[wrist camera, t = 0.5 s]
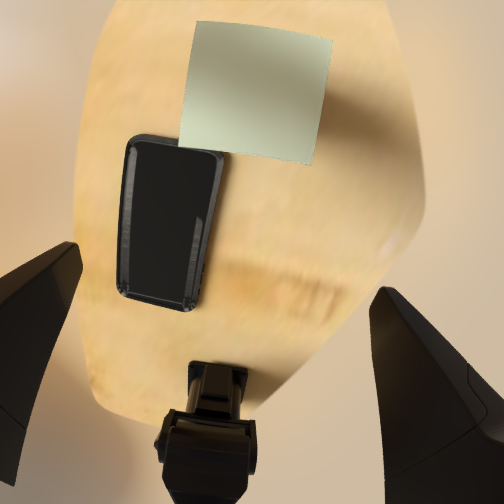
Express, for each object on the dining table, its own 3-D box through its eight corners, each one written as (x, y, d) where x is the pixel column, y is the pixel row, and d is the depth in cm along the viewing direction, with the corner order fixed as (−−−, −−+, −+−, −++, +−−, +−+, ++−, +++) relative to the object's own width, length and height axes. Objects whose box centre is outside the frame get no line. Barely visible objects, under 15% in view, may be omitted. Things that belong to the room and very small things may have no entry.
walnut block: (281, 135, 22) (311, 165, 10) (220, 127, 21) (178, 146, 10) (291, 78, 20) (333, 40, 8) (229, 69, 20) (197, 21, 8)
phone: (116, 294, 27) (127, 133, 21) (120, 288, 28) (133, 131, 22) (195, 314, 28) (227, 150, 21) (197, 307, 29) (229, 148, 22)
